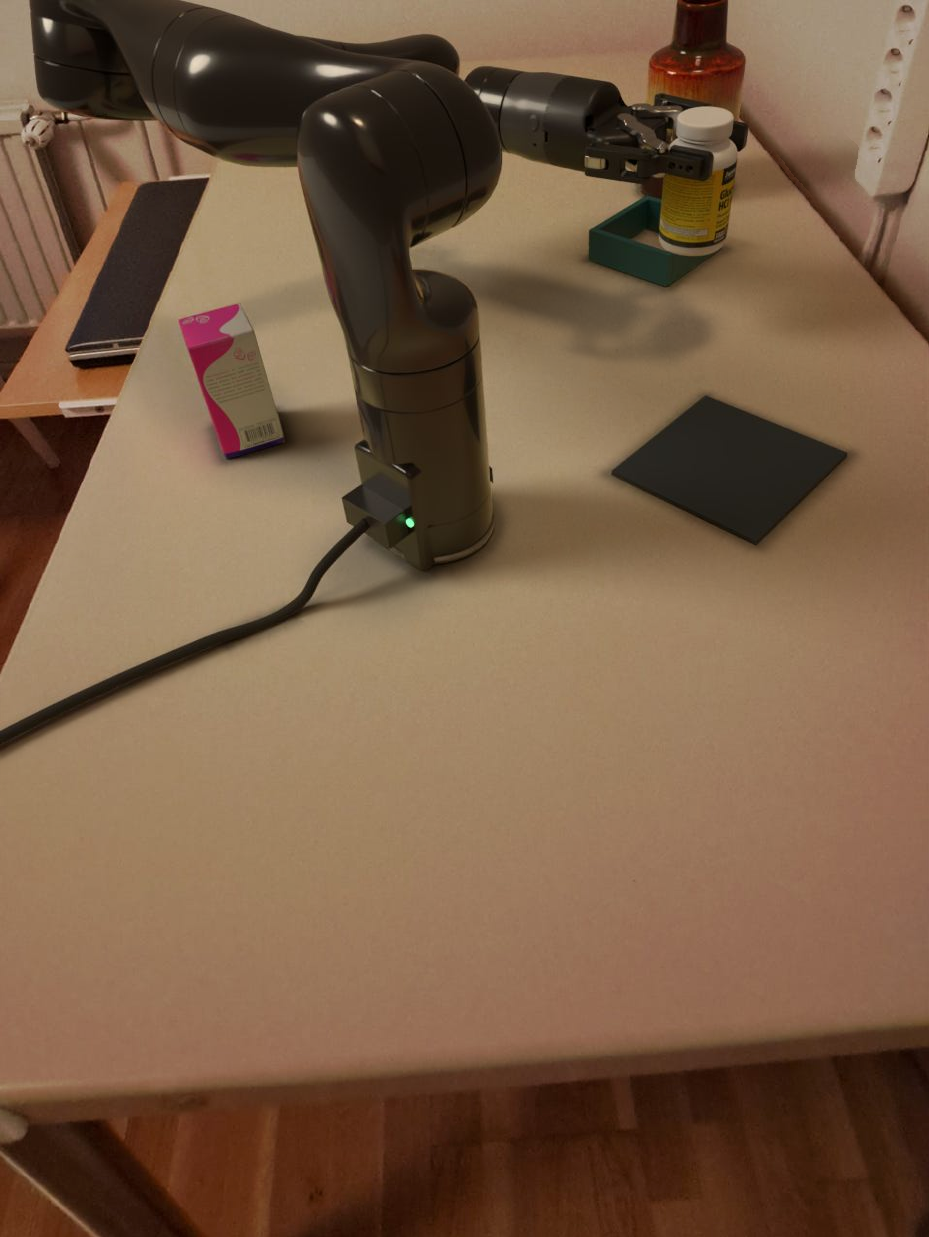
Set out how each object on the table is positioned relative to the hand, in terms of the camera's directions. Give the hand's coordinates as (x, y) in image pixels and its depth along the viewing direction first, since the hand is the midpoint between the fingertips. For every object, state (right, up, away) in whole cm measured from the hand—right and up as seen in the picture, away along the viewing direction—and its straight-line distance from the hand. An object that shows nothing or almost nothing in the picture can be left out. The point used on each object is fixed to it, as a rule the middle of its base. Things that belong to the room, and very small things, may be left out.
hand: (728, 152), depth 80 cm
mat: (0, -27, -1) cm, 27 cm away
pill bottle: (-1, -5, +7) cm, 9 cm away
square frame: (-1, +1, +25) cm, 25 cm away
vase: (+5, +13, +36) cm, 39 cm away
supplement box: (-43, -23, +8) cm, 49 cm away
